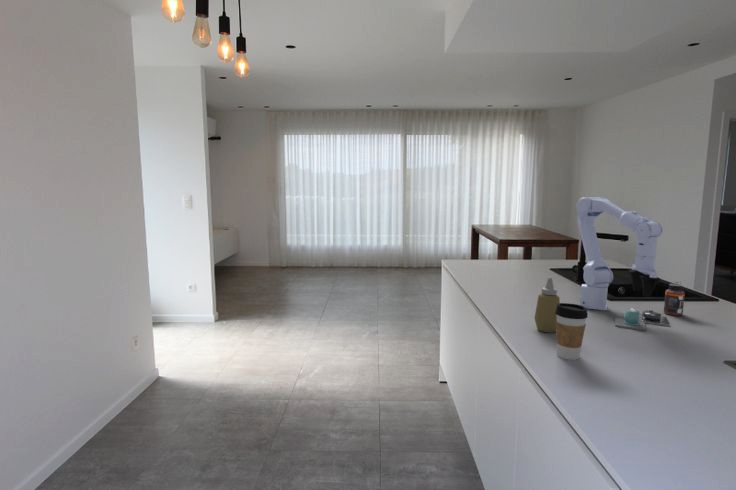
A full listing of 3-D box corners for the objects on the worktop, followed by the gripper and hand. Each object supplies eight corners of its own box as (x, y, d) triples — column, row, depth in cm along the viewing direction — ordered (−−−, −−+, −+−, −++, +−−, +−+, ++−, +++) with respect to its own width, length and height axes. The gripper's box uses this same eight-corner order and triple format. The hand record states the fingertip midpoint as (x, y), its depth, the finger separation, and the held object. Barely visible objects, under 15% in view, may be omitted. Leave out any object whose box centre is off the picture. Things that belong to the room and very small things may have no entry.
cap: (621, 320, 153) (623, 306, 152) (637, 321, 152) (638, 308, 151) (625, 324, 148) (627, 310, 148) (641, 326, 147) (643, 312, 146)
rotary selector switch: (635, 321, 154) (636, 313, 153) (634, 314, 162) (634, 306, 162) (669, 326, 149) (670, 318, 148) (665, 318, 158) (666, 310, 157)
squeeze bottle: (558, 327, 147) (562, 276, 145) (560, 335, 140) (564, 281, 137) (533, 324, 150) (536, 274, 147) (534, 332, 142) (537, 279, 140)
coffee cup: (546, 350, 127) (550, 301, 125) (573, 349, 128) (577, 301, 126) (561, 362, 119) (565, 310, 117) (590, 361, 120) (595, 309, 118)
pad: (615, 326, 149) (615, 324, 148) (614, 319, 156) (615, 317, 156) (646, 331, 144) (646, 329, 144) (644, 323, 152) (644, 321, 152)
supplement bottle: (685, 316, 159) (687, 287, 158) (666, 315, 161) (668, 286, 160) (679, 312, 165) (682, 283, 163) (661, 310, 167) (664, 282, 165)
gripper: (624, 251, 158) (621, 287, 160) (642, 259, 144) (638, 298, 146) (645, 252, 157) (641, 288, 159) (665, 259, 143) (661, 299, 145)
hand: (641, 293), depth 153 cm, fingers open, 7 cm apart
